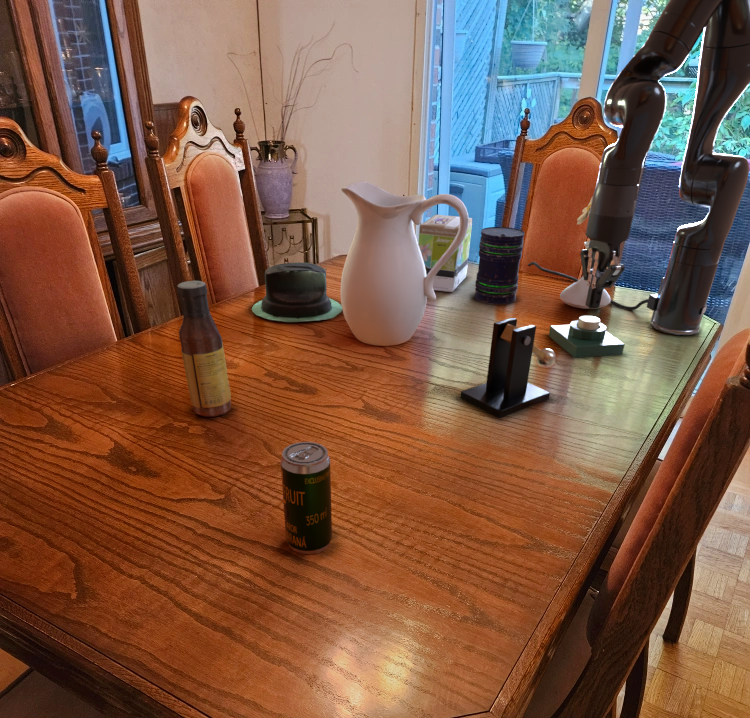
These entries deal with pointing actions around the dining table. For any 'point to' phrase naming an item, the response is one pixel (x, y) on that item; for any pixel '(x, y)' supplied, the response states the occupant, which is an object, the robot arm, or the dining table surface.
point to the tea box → (444, 250)
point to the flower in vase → (582, 281)
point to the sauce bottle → (203, 353)
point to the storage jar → (498, 265)
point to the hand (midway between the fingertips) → (591, 306)
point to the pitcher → (390, 264)
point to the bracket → (507, 374)
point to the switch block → (586, 340)
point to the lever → (543, 356)
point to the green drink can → (307, 497)
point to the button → (588, 322)
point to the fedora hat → (296, 294)
